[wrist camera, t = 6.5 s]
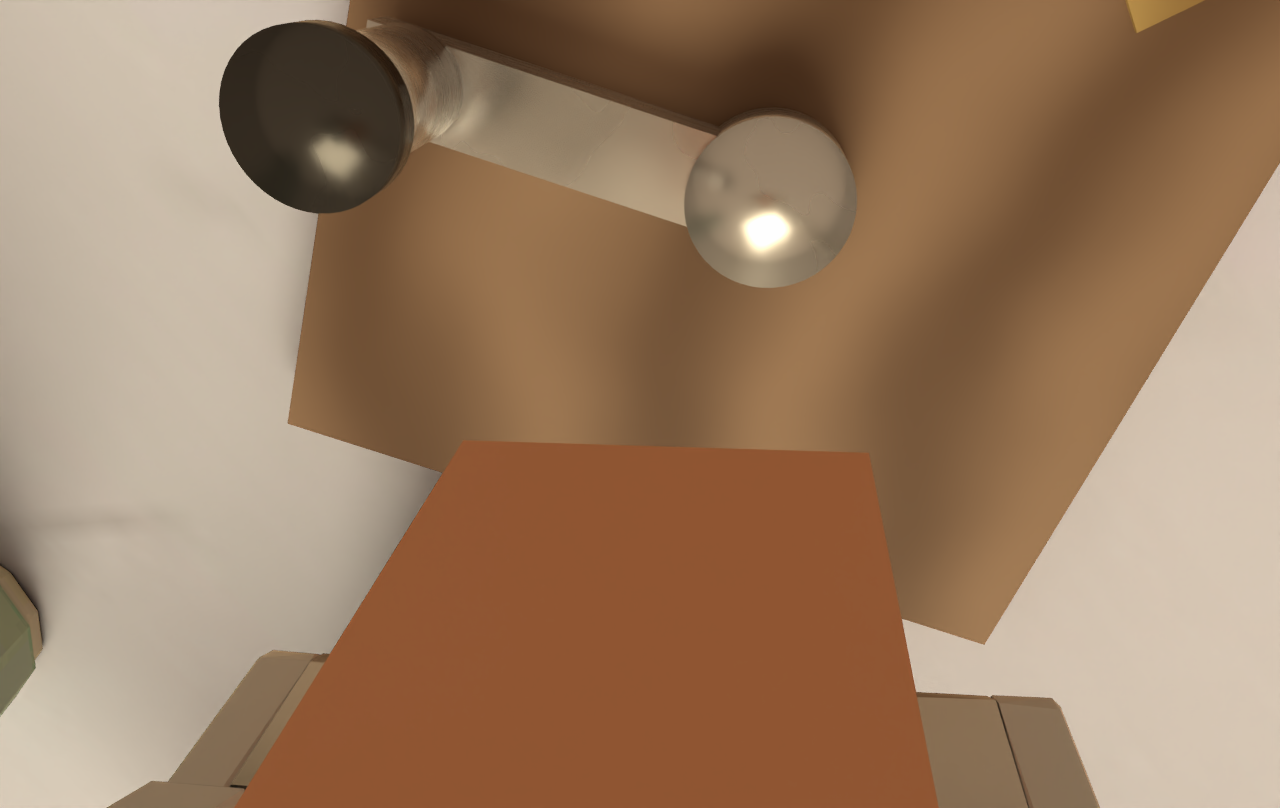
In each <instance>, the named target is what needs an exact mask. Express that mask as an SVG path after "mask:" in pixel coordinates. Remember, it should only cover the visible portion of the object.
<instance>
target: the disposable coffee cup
mask: <svg viewBox="0 0 1280 808" xmlns="http://www.w3.org/2000/svg"><path fill="white" fill-rule="evenodd" d="M42 649H43V648H42V640H41V632H40V625H39V617H38V611H37V610H36V608H35V607H34V605H33V604H32V603H31V601H30V600H29V598H28V597H27V595H26V594H25V593H24V591H23V590H22V588H21V587H20V586H19V584H18V583H17V581H16V580H15V579H14V577H13V576H12V574H11V573H10V572H9V571H7V570H6V569H4V568H3V567H1V566H0V716H1V715H2V714H3V712H4V711H5V710H6V709H7V707H8V706H9V705H10V703H11V702H12V701H13V699H14V698H15V697H16V695H17V694H18V693H19V691H20V690H21V688H22V687H23V685H24V684H25V682H26V681H27V680H28V678H29V677H30V675H31V674H32V672H33V671H34V670H35V668H36V667H35V659H36V658H37V656H38V655H39V654H40V652H41V651H42Z"/></svg>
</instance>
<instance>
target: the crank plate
mask: <svg viewBox="0 0 1280 808" xmlns="http://www.w3.org/2000/svg"><path fill="white" fill-rule="evenodd" d="M385 16H390V17H393V18H396V19H399V20H402V21H405V22H408V23H411V24H414V25H417V26H420V27H423V28H426V29H429V30H432V31H435V32H438V33H441V34H444V35H447V36H450V37H453V38H456V39H459V40H462V41H465V42H468V43H471V44H474V45H477V46H480V47H483V48H486V49H489V50H492V51H495V52H498V53H501V54H504V55H507V56H510V57H513V58H516V59H519V60H522V61H525V62H528V63H531V64H534V65H537V66H540V67H542V68H545V69H548V70H551V71H554V72H557V73H560V74H563V75H566V76H569V77H572V78H575V79H578V80H581V81H584V82H587V83H590V84H593V85H596V86H599V87H602V88H605V89H608V90H611V91H614V92H617V93H620V94H623V95H626V96H629V97H632V98H635V99H638V100H641V101H644V102H647V103H650V104H653V105H656V106H659V107H662V108H665V109H668V110H671V111H674V112H677V113H680V114H683V115H686V116H689V117H692V118H695V119H698V120H701V121H704V122H707V123H710V124H713V125H716V126H720V125H722V124H723V123H724V122H726V121H728V120H729V119H731V118H732V117H734V116H737V115H739V114H741V113H743V112H747V111H750V110H754V109H759V108H771V107H777V108H786V109H790V110H794V111H798V112H800V113H803V114H805V115H808V116H809V117H811V118H813V119H815V120H816V121H818V122H819V123H820V124H822V125H823V126H824V127H825V128H826V129H827V130H828V131H829V132H830V133H831V134H832V135H833V136H834V137H835V139H836V140H837V142H838V143H839V144H840V146H841V148H842V150H843V152H844V154H845V156H846V159H847V161H848V163H849V165H850V168H851V171H852V173H853V176H854V180H855V185H856V191H857V209H856V216H855V221H854V224H853V227H852V230H851V233H850V235H849V237H848V239H847V241H846V243H845V245H844V246H843V248H842V249H841V251H840V252H839V253H838V254H837V256H836V257H835V258H834V259H833V260H832V261H831V262H830V263H829V264H828V265H827V266H826V267H825V268H823V269H822V270H821V271H819V272H818V273H816V274H815V275H813V276H811V277H809V278H807V279H806V280H803V281H801V282H798V283H795V284H792V285H788V286H784V287H776V288H760V287H752V286H748V285H744V284H740V283H738V282H735V281H733V280H730V279H729V278H727V277H725V276H723V275H721V274H720V273H719V272H717V271H716V270H715V269H713V268H712V267H711V266H710V265H709V264H708V263H707V262H706V261H705V260H704V259H703V257H702V256H701V255H700V254H699V252H698V251H697V249H696V247H695V246H694V244H693V242H692V240H691V237H690V235H689V232H688V229H687V227H686V226H683V225H680V224H677V223H674V222H671V221H668V220H665V219H662V218H659V217H656V216H653V215H650V214H647V213H644V212H641V211H637V210H634V209H631V208H628V207H625V206H622V205H619V204H616V203H613V202H610V201H607V200H604V199H601V198H598V197H595V196H592V195H589V194H586V193H583V192H580V191H577V190H574V189H571V188H568V187H565V186H562V185H559V184H556V183H553V182H550V181H546V180H543V179H540V178H537V177H534V176H531V175H528V174H525V173H522V172H519V171H516V170H513V169H510V168H507V167H504V166H501V165H498V164H495V163H492V162H489V161H486V160H483V159H480V158H477V157H474V156H471V155H468V154H465V153H462V152H459V151H455V150H452V149H449V148H446V147H443V146H440V145H437V144H434V143H431V142H428V143H426V144H424V145H423V146H421V147H419V148H418V149H416V150H414V151H413V152H411V153H410V155H409V157H408V160H407V162H406V164H405V166H404V168H403V169H402V171H401V173H400V174H399V175H398V176H397V178H396V179H395V180H394V181H393V182H392V183H391V184H390V185H389V186H388V187H387V188H385V189H384V190H382V191H381V192H379V193H378V194H376V195H375V196H373V197H372V198H370V199H368V200H367V201H365V202H364V203H362V204H361V205H359V206H356V207H354V208H352V209H349V210H346V211H342V212H337V213H319V215H318V221H317V228H316V235H315V242H314V249H313V255H312V262H311V269H310V276H309V282H308V289H307V296H306V303H305V310H304V316H303V323H302V330H301V337H300V343H299V350H298V357H297V364H296V371H295V377H294V384H293V391H292V398H291V404H290V411H289V418H288V424H291V425H294V426H297V427H300V428H303V429H307V430H310V431H313V432H316V433H319V434H322V435H326V436H329V437H332V438H335V439H338V440H341V441H344V442H348V443H351V444H354V445H357V446H360V447H363V448H366V449H370V450H373V451H376V452H379V453H382V454H385V455H389V456H392V457H395V458H398V459H401V460H404V461H407V462H411V463H414V464H417V465H420V466H423V467H426V468H429V469H433V470H436V471H439V472H442V473H443V472H444V470H445V469H446V467H447V466H448V464H449V462H450V461H451V459H452V457H453V456H454V454H455V453H456V451H457V449H458V448H459V446H460V445H461V443H462V441H463V440H472V441H504V442H537V443H569V444H601V445H634V446H666V447H699V448H731V449H763V450H796V451H828V452H860V453H869V456H870V461H871V466H872V471H873V476H874V481H875V487H876V492H877V497H878V502H879V507H880V512H881V517H882V522H883V527H884V532H885V537H886V542H887V547H888V553H889V558H890V563H891V568H892V573H893V578H894V583H895V588H896V593H897V598H898V603H899V608H900V613H901V618H902V619H905V620H908V621H911V622H915V623H918V624H921V625H924V626H927V627H930V628H933V629H937V630H940V631H943V632H946V633H949V634H952V635H956V636H959V637H962V638H965V639H968V640H971V641H974V642H978V643H981V644H985V642H986V641H987V639H988V638H989V636H990V634H991V633H992V631H993V629H994V628H995V626H996V625H997V623H998V621H999V620H1000V618H1001V616H1002V615H1003V613H1004V611H1005V610H1006V608H1007V607H1008V605H1009V603H1010V602H1011V600H1012V598H1013V597H1014V595H1015V594H1016V592H1017V590H1018V589H1019V587H1020V585H1021V584H1022V582H1023V581H1024V579H1025V577H1026V576H1027V574H1028V572H1029V571H1030V569H1031V567H1032V566H1033V564H1034V563H1035V561H1036V559H1037V558H1038V556H1039V554H1040V553H1041V551H1042V550H1043V548H1044V546H1045V545H1046V543H1047V541H1048V540H1049V538H1050V536H1051V535H1052V533H1053V532H1054V530H1055V528H1056V527H1057V525H1058V523H1059V522H1060V520H1061V519H1062V517H1063V515H1064V514H1065V512H1066V510H1067V509H1068V507H1069V505H1070V504H1071V502H1072V501H1073V499H1074V497H1075V496H1076V494H1077V492H1078V491H1079V489H1080V488H1081V486H1082V484H1083V483H1084V481H1085V479H1086V478H1087V476H1088V475H1089V473H1090V471H1091V470H1092V468H1093V466H1094V465H1095V463H1096V461H1097V460H1098V458H1099V457H1100V455H1101V453H1102V452H1103V450H1104V448H1105V447H1106V445H1107V444H1108V442H1109V440H1110V439H1111V437H1112V435H1113V434H1114V432H1115V430H1116V429H1117V427H1118V426H1119V424H1120V422H1121V421H1122V419H1123V417H1124V416H1125V414H1126V413H1127V411H1128V409H1129V408H1130V406H1131V404H1132V403H1133V401H1134V400H1135V398H1136V396H1137V395H1138V393H1139V391H1140V390H1141V388H1142V386H1143V385H1144V383H1145V382H1146V380H1147V378H1148V377H1149V375H1150V373H1151V372H1152V370H1153V369H1154V367H1155V365H1156V364H1157V362H1158V360H1159V359H1160V357H1161V355H1162V354H1163V352H1164V351H1165V349H1166V347H1167V346H1168V344H1169V342H1170V341H1171V339H1172V338H1173V336H1174V334H1175V333H1176V331H1177V329H1178V328H1179V326H1180V324H1181V323H1182V321H1183V320H1184V318H1185V316H1186V315H1187V313H1188V311H1189V310H1190V308H1191V307H1192V305H1193V303H1194V302H1195V300H1196V298H1197V297H1198V295H1199V294H1200V292H1201V290H1202V289H1203V287H1204V285H1205V284H1206V282H1207V280H1208V279H1209V277H1210V276H1211V274H1212V272H1213V271H1214V269H1215V267H1216V266H1217V264H1218V263H1219V261H1220V259H1221V258H1222V256H1223V254H1224V253H1225V251H1226V249H1227V248H1228V246H1229V245H1230V243H1231V241H1232V240H1233V238H1234V236H1235V235H1236V233H1237V232H1238V230H1239V228H1240V227H1241V225H1242V223H1243V222H1244V220H1245V219H1246V217H1247V215H1248V214H1249V212H1250V210H1251V209H1252V207H1253V205H1254V204H1255V202H1256V201H1257V199H1258V197H1259V196H1260V194H1261V192H1262V191H1263V189H1264V188H1265V186H1266V184H1267V183H1268V181H1269V179H1270V178H1271V176H1272V174H1273V173H1274V171H1275V170H1276V168H1277V166H1278V165H1279V163H1280V0H350V5H349V11H348V18H347V25H346V26H347V27H349V28H352V29H354V30H360V29H365V28H366V25H367V20H368V19H374V18H379V17H385Z"/></svg>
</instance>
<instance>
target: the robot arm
mask: <svg viewBox="0 0 1280 808" xmlns="http://www.w3.org/2000/svg"><path fill="white" fill-rule="evenodd" d="M329 655H330V654H324V653H323V654H321V655H319V654H310V653H299V652H288V651H277V650H272V651H271V652H269V653H267V654H265V655H263V656H261V657H260V658H259V659H258V660H257V661H256V662H255V663H254V665H253V666H252V667H251V669H250V670H249V672H248V673H247V674H246V676H245V677H244V678H243V680H242V681H241V683H240V684H239V685H238V687H237V688H236V689H235V691H234V692H233V693H232V695H231V696H230V698H229V699H228V700H227V702H226V703H225V704H224V706H223V707H222V709H221V710H220V711H219V713H218V714H217V715H216V717H215V718H214V719H213V721H212V722H211V724H210V725H209V726H208V728H207V729H206V730H205V732H204V733H203V735H202V736H201V737H200V739H199V740H198V741H197V743H196V744H195V745H194V747H193V748H192V750H191V751H190V752H189V754H188V755H187V756H186V758H185V759H184V761H183V762H182V763H181V765H180V766H179V767H178V769H177V770H176V771H175V773H174V774H173V776H172V777H171V778H170V780H169V781H168V782H159V781H151V782H149V783H148V784H146V785H144V786H143V787H141V788H139V789H137V790H136V791H134V792H132V793H131V794H129V795H127V796H126V797H124V798H122V799H121V800H119V801H117V802H116V803H114V804H112V805H110V806H109V807H107V808H234V807H235V806H236V804H237V802H238V801H239V799H240V798H241V796H242V794H243V793H244V791H245V790H246V788H247V786H248V785H249V783H250V782H251V780H252V778H253V777H254V775H255V774H256V772H257V770H258V769H259V767H260V765H261V764H262V762H263V761H264V759H265V757H266V756H267V754H268V753H269V751H270V749H271V748H272V746H273V745H274V743H275V741H276V740H277V738H278V737H279V735H280V733H281V732H282V730H283V729H284V727H285V725H286V724H287V722H288V721H289V719H290V717H291V716H292V714H293V713H294V711H295V709H296V708H297V706H298V705H299V703H300V701H301V700H302V698H303V697H304V695H305V693H306V692H307V690H308V688H309V687H310V685H311V684H312V682H313V680H314V679H315V677H316V676H317V674H318V672H319V671H320V669H321V668H322V666H323V664H324V663H325V661H326V660H327V658H328V656H329ZM916 695H917V700H918V705H919V710H920V715H921V720H922V725H923V730H924V735H925V740H926V746H927V751H928V756H929V761H930V766H931V771H932V776H933V781H934V786H935V791H936V796H937V801H938V806H939V808H1100V806H1099V804H1098V801H1097V799H1096V796H1095V793H1094V791H1093V788H1092V786H1091V783H1090V781H1089V778H1088V776H1087V773H1086V771H1085V768H1084V765H1083V763H1082V760H1081V758H1080V755H1079V753H1078V750H1077V748H1076V745H1075V742H1074V740H1073V737H1072V735H1071V732H1070V730H1069V727H1068V725H1067V722H1066V720H1065V717H1064V714H1063V712H1062V709H1061V707H1060V706H1059V705H1058V704H1057V703H1056V702H1055V701H1054V700H1053V699H1052V698H1040V697H1017V696H994V695H992V696H991V697H988V696H977V695H959V694H940V693H922V692H916Z"/></svg>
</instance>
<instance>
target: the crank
mask: <svg viewBox="0 0 1280 808" xmlns="http://www.w3.org/2000/svg"><path fill="white" fill-rule="evenodd" d="M219 108H220V118H221V123H222V127H223V131H224V134H225V137H226V140H227V143H228V145H229V147H230V149H231V151H232V154H233V155H234V157H235V159H236V160H237V162H238V164H239V165H240V166H241V168H242V169H243V170H244V172H245V173H246V174H247V175H248V177H249V178H250V179H251V180H252V181H253V182H254V183H255V184H256V185H257V186H258V187H260V188H261V189H262V190H263V191H264V192H266V193H267V194H268V195H270V196H271V197H273V198H274V199H276V200H278V201H280V202H281V203H283V204H285V205H288V206H290V207H293V208H295V209H298V210H302V211H306V212H312V213H337V212H342V211H346V210H349V209H352V208H354V207H356V206H359V205H361V204H362V203H364V202H365V201H367V200H368V199H370V198H372V197H373V196H375V195H376V194H378V193H379V192H381V191H382V190H384V189H385V188H387V187H388V186H389V185H390V184H391V183H392V182H393V181H394V180H395V179H396V178H397V176H398V175H399V174H400V173H401V171H402V169H403V168H404V166H405V164H406V162H407V160H408V157H409V155H410V153H411V152H413V151H414V150H416V149H418V148H419V147H421V146H423V145H424V144H426V143H428V142H431V143H434V144H437V145H440V146H443V147H446V148H449V149H452V150H455V151H459V152H462V153H465V154H468V155H471V156H474V157H477V158H480V159H483V160H486V161H489V162H492V163H495V164H498V165H501V166H504V167H507V168H510V169H513V170H516V171H519V172H522V173H525V174H528V175H531V176H534V177H537V178H540V179H543V180H546V181H550V182H553V183H556V184H559V185H562V186H565V187H568V188H571V189H574V190H577V191H580V192H583V193H586V194H589V195H592V196H595V197H598V198H601V199H604V200H607V201H610V202H613V203H616V204H619V205H622V206H625V207H628V208H631V209H634V210H637V211H641V212H644V213H647V214H650V215H653V216H656V217H659V218H662V219H665V220H668V221H671V222H674V223H677V224H680V225H683V226H686V227H687V229H688V232H689V235H690V237H691V240H692V242H693V244H694V246H695V247H696V249H697V251H698V252H699V254H700V255H701V256H702V257H703V259H704V260H705V261H706V262H707V263H708V264H709V265H710V266H711V267H712V268H713V269H715V270H716V271H717V272H719V273H720V274H721V275H723V276H725V277H727V278H729V279H730V280H733V281H735V282H738V283H740V284H744V285H748V286H752V287H760V288H776V287H784V286H788V285H792V284H795V283H798V282H801V281H803V280H806V279H807V278H809V277H811V276H813V275H815V274H816V273H818V272H819V271H821V270H822V269H823V268H825V267H826V266H827V265H828V264H829V263H830V262H831V261H832V260H833V259H834V258H835V257H836V256H837V254H838V253H839V252H840V251H841V249H842V248H843V246H844V245H845V243H846V241H847V239H848V237H849V235H850V233H851V230H852V227H853V224H854V221H855V216H856V209H857V191H856V185H855V180H854V176H853V173H852V171H851V168H850V165H849V163H848V161H847V159H846V156H845V154H844V152H843V150H842V148H841V146H840V144H839V143H838V142H837V140H836V139H835V137H834V136H833V135H832V134H831V133H830V132H829V131H828V130H827V129H826V128H825V127H824V126H823V125H822V124H820V123H819V122H818V121H816V120H815V119H813V118H811V117H809V116H808V115H805V114H803V113H800V112H798V111H794V110H790V109H786V108H777V107H771V108H759V109H754V110H750V111H747V112H743V113H741V114H739V115H737V116H734V117H732V118H731V119H729V120H728V121H726V122H724V123H723V124H722V125H720V126H716V125H713V124H710V123H707V122H704V121H701V120H698V119H695V118H692V117H689V116H686V115H683V114H680V113H677V112H674V111H671V110H668V109H665V108H662V107H659V106H656V105H653V104H650V103H647V102H644V101H641V100H638V99H635V98H632V97H629V96H626V95H623V94H620V93H617V92H614V91H611V90H608V89H605V88H602V87H599V86H596V85H593V84H590V83H587V82H584V81H581V80H578V79H575V78H572V77H569V76H566V75H563V74H560V73H557V72H554V71H551V70H548V69H545V68H542V67H540V66H537V65H534V64H531V63H528V62H525V61H522V60H519V59H516V58H513V57H510V56H507V55H504V54H501V53H498V52H495V51H492V50H489V49H486V48H483V47H480V46H477V45H474V44H471V43H468V42H465V41H462V40H459V39H456V38H453V37H450V36H447V35H444V34H441V33H438V32H435V31H432V30H429V29H426V28H423V27H420V26H417V25H414V24H411V23H408V22H405V21H402V20H399V19H396V18H393V17H390V16H385V17H379V18H374V19H368V20H367V25H366V28H365V29H360V30H354V29H352V28H349V27H347V26H345V25H342V24H338V23H335V22H331V21H323V20H305V21H299V22H293V23H286V24H281V25H275V26H272V27H269V28H266V29H263V30H261V31H259V32H257V33H256V34H254V35H252V36H251V37H250V38H248V39H247V40H246V41H244V42H243V43H242V44H241V46H240V47H239V48H238V49H237V50H236V51H235V53H234V54H233V56H232V57H231V59H230V60H229V62H228V65H227V67H226V69H225V71H224V75H223V78H222V81H221V87H220V95H219Z"/></svg>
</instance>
